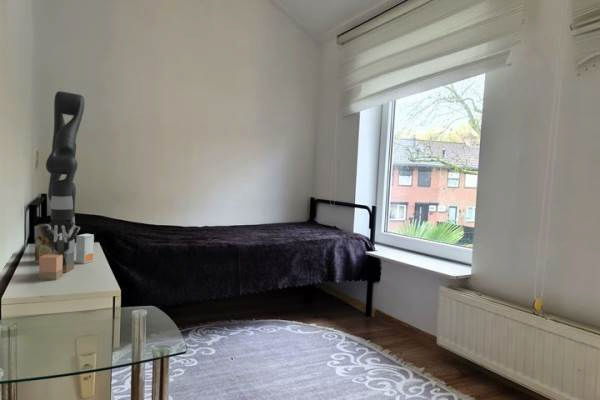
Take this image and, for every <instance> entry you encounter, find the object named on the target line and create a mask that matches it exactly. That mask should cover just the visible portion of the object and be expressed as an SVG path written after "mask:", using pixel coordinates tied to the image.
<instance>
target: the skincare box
mask: <svg viewBox="0 0 600 400" xmlns="http://www.w3.org/2000/svg"><path fill="white" fill-rule="evenodd" d="M94 235H95V234H91V233H84V234H83V233H82V234H79V235H78V234H77V236H76V237H75V243H76V245H75V246H76V247H75V248H76V249H75V253H76V254H75V263H76V264H83V265H85V264H87V263H91V262H94V245H95V244H94V242H95V241H94V240H95V236H94Z"/></svg>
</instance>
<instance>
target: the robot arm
mask: <svg viewBox="0 0 600 400" xmlns="http://www.w3.org/2000/svg"><path fill="white" fill-rule="evenodd" d="M53 109H54V111H53V134H52V135H53V137H52V144H51V145H52V146H51V152H50V154H49V156H48V157H47V159H46V162H45V168H46V171H47V172H48V173H49V174H50V177H49V183H48V191H47V192H48V193H47V197H48V200H49V201H50V222H49V223H48V224H49V225H47V226H44V227H43V229H44V231H45V233H46V235H47V237H48V238H49V240H52V241H54V249H55V250H56V251H58V240H60V235H61V233H63V240H64V252H66V254H68V255H69V254H71V253H74V254H75V253H76V249H75V248H76V247H75V246H76V245H75V243H76V236H78V234H79V231H80V230H81V226H77V225H76V218H75V217H76V214H75V213H76V209H75V208H76V193H77V191H76V184H75V183H74V178H75V175H76V173H77V169H78V161H77V159H76V151H77V142H76V140H77V134H78V133H79V132H78V131H79V128H80V125H81V122H82V120H83V114H84V110H85V98H84V96H83V95H82V94H81V95H80V94H77V93H72V92H67V91H66V92H65V91H62V90H61V91H60V90H59V91H57V92H56V93H55V95H54V105H53ZM64 115H67V116H72V118H71V119H70V120H69V121H67V123H65V119H64ZM62 175H65V178H63V179H61V177H62ZM51 227H52V229H53V230H54V235H53V233H52V231H51Z"/></svg>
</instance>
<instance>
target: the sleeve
mask: <svg viewBox="0 0 600 400" xmlns="http://www.w3.org/2000/svg"><path fill="white" fill-rule="evenodd" d="M74 269H75V253H71V254H69V255H67V256H65V262H64V263H63V264H62V274H67V273H69V272H70V271H72V270H74Z"/></svg>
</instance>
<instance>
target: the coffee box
mask: <svg viewBox="0 0 600 400" xmlns="http://www.w3.org/2000/svg"><path fill="white" fill-rule="evenodd" d="M49 224H50V223H40V224H37V225H34V263H35V264H39V257H41V256H43V255H45V254H54V255H57V253H58V251H56V250H55V249H54V241H52V240H49V238H48V237H47V235H46V233H45V231H44V229H43V227H44V226H47V225H49ZM51 231H52V233H53V235H54V230H53V229H52V227H51ZM60 240H63V233H61V235H60Z"/></svg>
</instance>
